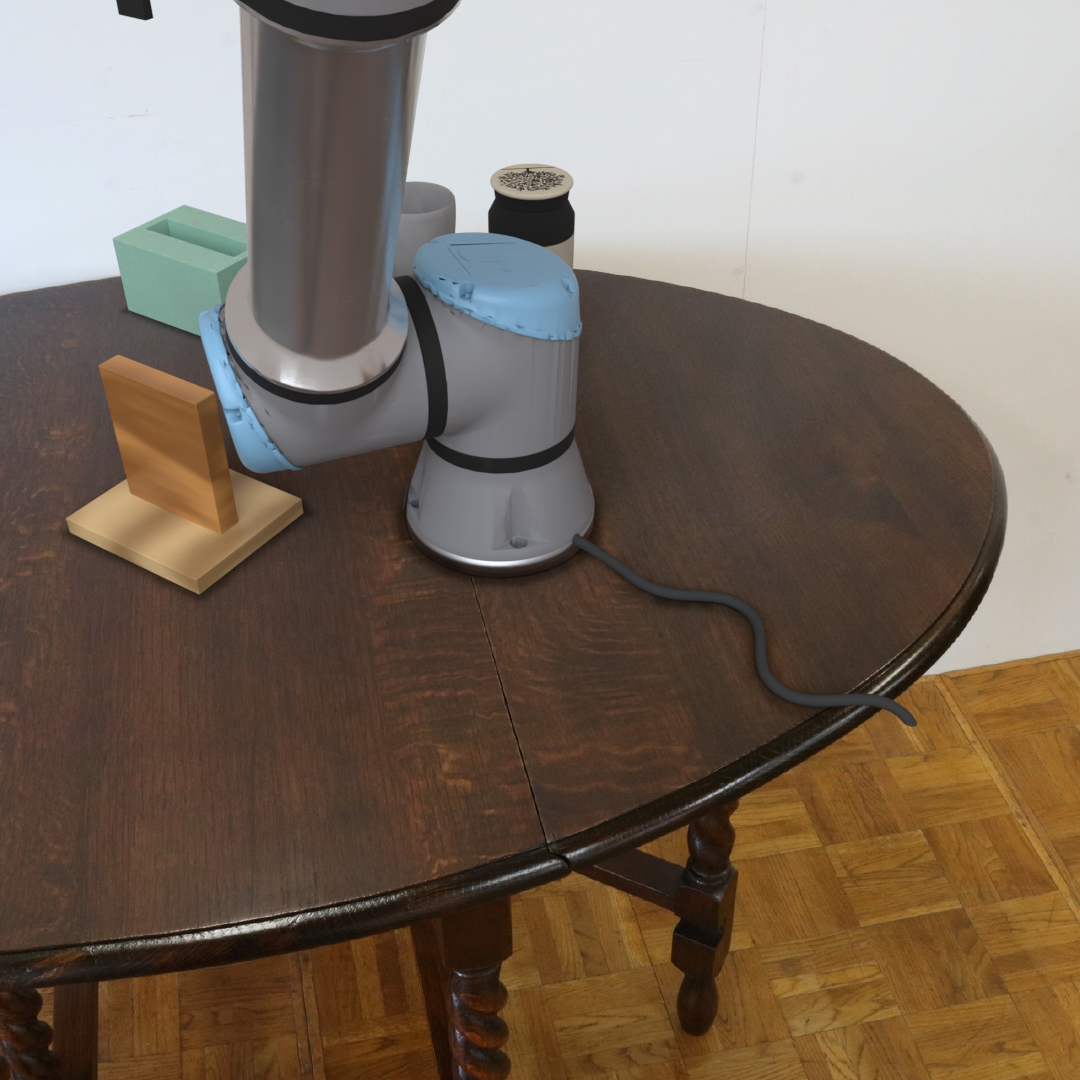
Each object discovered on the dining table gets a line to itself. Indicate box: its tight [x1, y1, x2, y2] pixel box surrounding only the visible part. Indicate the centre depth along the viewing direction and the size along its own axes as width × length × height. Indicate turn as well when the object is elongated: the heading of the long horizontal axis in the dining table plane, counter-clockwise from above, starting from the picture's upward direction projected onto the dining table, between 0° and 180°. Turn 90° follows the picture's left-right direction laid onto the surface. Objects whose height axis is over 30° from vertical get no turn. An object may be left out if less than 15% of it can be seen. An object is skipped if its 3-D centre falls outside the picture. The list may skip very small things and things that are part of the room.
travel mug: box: [487, 163, 576, 272], centre depth 112 cm, size 8×8×18 cm
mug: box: [392, 181, 457, 277], centre depth 127 cm, size 12×9×10 cm
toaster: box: [112, 204, 247, 337], centre depth 122 cm, size 10×16×8 cm, turn 59°
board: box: [65, 468, 304, 596], centre depth 95 cm, size 14×12×2 cm
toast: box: [98, 354, 238, 534], centre depth 91 cm, size 2×10×12 cm, turn 58°
